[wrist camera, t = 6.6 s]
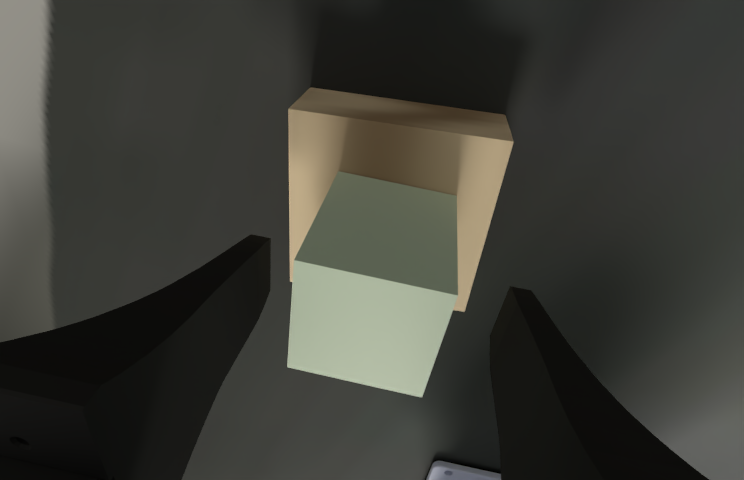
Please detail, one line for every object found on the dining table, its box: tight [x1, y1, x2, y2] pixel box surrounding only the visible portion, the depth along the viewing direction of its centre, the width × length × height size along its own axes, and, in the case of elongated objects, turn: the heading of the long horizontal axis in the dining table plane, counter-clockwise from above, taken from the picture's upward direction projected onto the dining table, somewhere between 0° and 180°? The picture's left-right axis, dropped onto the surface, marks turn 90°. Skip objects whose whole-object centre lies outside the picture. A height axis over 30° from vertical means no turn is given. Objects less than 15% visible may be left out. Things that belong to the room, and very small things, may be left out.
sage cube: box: [287, 171, 458, 398], centre depth 14 cm, size 4×4×5 cm
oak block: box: [288, 87, 514, 312], centre depth 17 cm, size 7×7×3 cm
